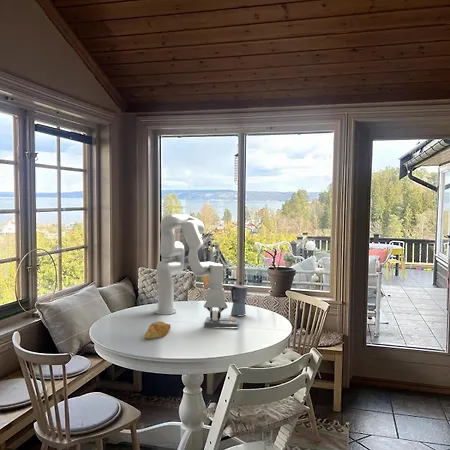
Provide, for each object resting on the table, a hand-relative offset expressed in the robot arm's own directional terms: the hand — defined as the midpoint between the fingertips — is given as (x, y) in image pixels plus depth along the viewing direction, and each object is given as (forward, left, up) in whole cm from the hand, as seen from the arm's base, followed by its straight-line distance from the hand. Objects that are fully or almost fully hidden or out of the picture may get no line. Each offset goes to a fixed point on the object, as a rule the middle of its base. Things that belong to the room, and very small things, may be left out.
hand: (215, 318), depth 253 cm
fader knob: (0, 0, -3) cm, 3 cm away
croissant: (+23, -27, -4) cm, 36 cm away
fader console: (0, +4, -3) cm, 5 cm away
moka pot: (-23, +12, -3) cm, 26 cm away
